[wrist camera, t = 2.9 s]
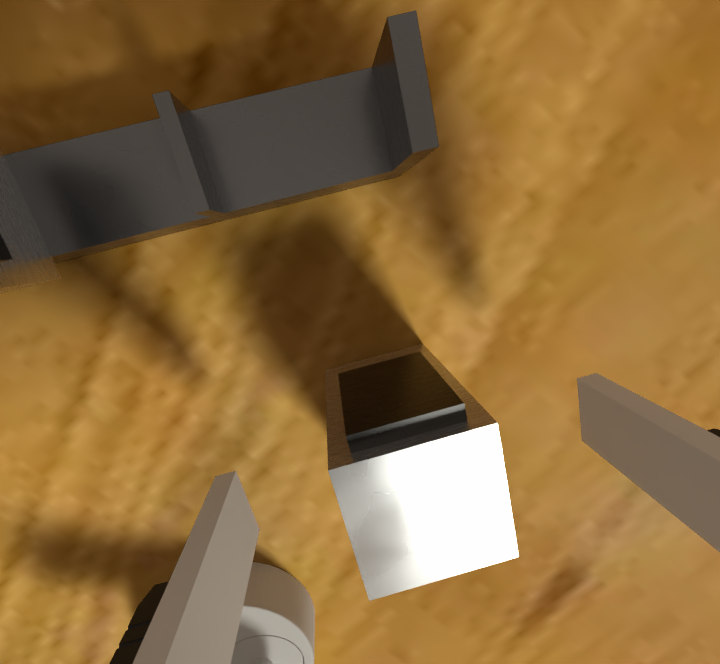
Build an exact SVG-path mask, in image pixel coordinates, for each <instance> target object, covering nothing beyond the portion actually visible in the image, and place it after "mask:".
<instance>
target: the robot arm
mask: <svg viewBox="0 0 720 664" xmlns="http://www.w3.org/2000/svg"><path fill="white" fill-rule="evenodd" d="M577 385H578V397H579V410H580V422H581V435H582V441H583V442H584V443H586V444H587V445H588V446H589V447H591V448H592V449H593V450H594V451H595V452H597V453H598V454H599V455H600V456H602V457H603V458H604V459H605V460H607V461H608V462H609V463H610V464H612V465H613V466H614V467H615V468H616V469H618V470H619V471H620V472H621V473H623V474H624V475H625V476H626V477H628V478H629V479H630V480H631V481H632V482H634V483H635V484H636V485H637V486H639V487H640V488H641V489H642V490H644V491H645V492H646V493H647V494H649V495H650V496H651V497H652V498H653V499H655V500H656V501H657V502H658V503H660V504H661V505H662V506H663V507H665V508H666V509H667V510H668V511H670V512H671V513H672V514H673V515H674V516H676V517H677V518H678V519H679V520H681V521H682V522H683V523H684V524H686V525H687V526H688V527H689V528H691V529H692V530H693V531H694V532H695V533H697V534H698V535H699V536H700V537H702V538H703V539H704V540H705V541H707V542H708V543H709V544H710V545H711V546H713V547H714V548H715V549H716V550H718V551H719V552H720V430H718V429H711V430H705V429H703V428H701V427H699V426H697V425H695V424H693V423H691V422H690V421H688V420H686V419H684V418H682V417H680V416H678V415H676V414H674V413H672V412H670V411H668V410H666V409H665V408H663V407H661V406H659V405H657V404H655V403H653V402H651V401H649V400H647V399H645V398H643V397H641V396H640V395H638V394H636V393H634V392H632V391H630V390H628V389H626V388H624V387H622V386H620V385H618V384H616V383H614V382H613V381H611V380H609V379H607V378H605V377H603V376H601V375H599V374H597V373H595V374H591V375H588V376H584V377H580V378H577ZM259 530H260V529H259V527H258V524H257V522H256V519H255V517H254V514H253V512H252V509H251V507H250V504H249V502H248V499H247V497H246V495H245V492H244V490H243V487H242V485H241V482H240V480H239V477H238V475H237V472H236V471H233V472H230V473H226V474H222V475H219V476H215V479H214V481H213V483H212V485H211V488H210V490H209V492H208V494H207V497H206V499H205V501H204V503H203V506H202V508H201V510H200V512H199V515H198V517H197V519H196V522H195V524H194V526H193V528H192V531H191V533H190V535H189V537H188V540H187V542H186V544H185V546H184V549H183V551H182V553H181V555H180V558H179V560H178V562H177V564H176V567H175V569H174V571H173V573H172V576H171V578H170V580H169V581H168V582H164V583H161V584H157V585H154V587H153V588H152V589H151V590H150V592H149V593H148V594H147V595H146V597H145V598H144V599H143V600H142V602H141V603H140V604H139V605H138V607H137V609H136V611H135V613H134V615H133V617H132V619H131V621H130V623H129V625H128V630H127V631H126V632H125V634H124V636H123V638H122V640H121V642H120V644H119V649H117V650H116V652H115V654H114V656H113V658H112V660H111V662H110V664H231V660H232V655H233V651H234V646H235V641H236V637H237V632H238V627H239V623H240V618H241V613H242V609H243V604H244V600H245V595H246V590H247V586H248V581H249V576H250V572H251V567H252V563H253V558H254V553H255V549H256V544H257V539H258V535H259Z"/></svg>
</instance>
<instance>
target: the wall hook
mask: <svg viewBox="0 0 720 664" xmlns="http://www.w3.org/2000/svg"><path fill="white" fill-rule="evenodd" d="M314 633H315V611H314V605H313V602H312V599H311V597H310V595H309V593H308V591H307V590H306V589H305V587H304V586H303V585H302V584H301V583H300V582H299V581H298V580H297V579H296V578H294V577H293V576H292V575H290V574H289V573H287V572H285V571H283V570H281V569H279V568H276V567H274V566H271V565H267V564H263V563H257V562H253V563H252V567H251V572H250V576H249V581H248V586H247V590H246V595H245V600H244V604H243V609H242V613H241V618H240V623H239V627H238V632H237V637H236V641H235V646H234V651H233V655H232V660H231V664H314Z"/></svg>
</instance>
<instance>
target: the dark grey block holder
mask: <svg viewBox="0 0 720 664" xmlns="http://www.w3.org/2000/svg"><path fill="white" fill-rule="evenodd" d="M152 96H153V99H154V102H155V105H156V108H157V110H158V113H159V116H160V118H158V119H154V120H150V121H145V122H141V123H137V124H133V125H129V126H124V127H120V128H116V129H112V130H108V131H103V132H99V133H95V134H91V135H87V136H83V137H78V138H74V139H70V140H66V141H62V142H57V143H53V144H49V145H45V146H41V147H37V148H32V149H28V150H24V151H20V152H16V153H11V154H7V155H3V153H2V151H1V149H0V294H2V293H5V292H9V291H13V290H17V289H21V288H25V287H29V286H33V285H37V284H41V283H45V282H49V281H53V280H57V279H61V275H60V273H59V271H58V269H57V267H56V265H55V263H57V262H61V261H65V260H69V259H73V258H77V257H81V256H85V255H89V254H93V253H97V252H101V251H105V250H109V249H113V248H117V247H120V246H124V245H128V244H132V243H136V242H140V241H144V240H148V239H152V238H156V237H160V236H164V235H168V234H172V233H176V232H180V231H184V230H188V229H192V228H196V227H200V226H204V225H208V224H212V223H216V222H220V221H224V220H228V219H232V218H236V217H240V216H244V215H248V214H252V213H256V212H260V211H264V210H268V209H271V208H275V207H279V206H283V205H287V204H291V203H295V202H299V201H303V200H307V199H311V198H315V197H319V196H323V195H327V194H331V193H335V192H339V191H343V190H347V189H351V188H355V187H359V186H363V185H367V184H371V183H375V182H379V181H383V180H387V179H391V178H395V177H399V176H401V175H402V174H403V173H405V172H406V171H407V170H409V169H410V168H411V167H412V166H414V165H415V164H416V163H418V162H419V161H420V160H422V159H423V158H424V157H426V156H427V155H428V154H430V153H431V152H432V151H434V150H435V149H436V148H438V147H439V144H438V138H437V132H436V126H435V120H434V114H433V108H432V102H431V96H430V90H429V84H428V78H427V72H426V66H425V60H424V54H423V48H422V42H421V36H420V31H419V25H418V19H417V13H416V11H412V12H407V13H403V14H399V15H394V16H390V17H387V20H386V23H385V26H384V30H383V33H382V36H381V39H380V43H379V46H378V49H377V52H376V56H375V59H374V62H373V65H372V67H371V68H367V69H363V70H359V71H355V72H350V73H346V74H342V75H338V76H334V77H329V78H325V79H321V80H317V81H313V82H309V83H304V84H300V85H296V86H292V87H288V88H283V89H279V90H275V91H271V92H267V93H262V94H258V95H254V96H250V97H246V98H242V99H237V100H233V101H229V102H225V103H221V104H216V105H212V106H208V107H204V108H200V109H196V110H191V111H190V110H189V109H188V108H186V107H185V106H184V105H183V104H182V103H181V102H180V101H179V100H178V99H177V98H176V97H175V96H174V95H173V94H172V93H171V92H170V91H169V90H168V91H164V92H160V93H156V94H152Z"/></svg>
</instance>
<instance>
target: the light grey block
mask: <svg viewBox="0 0 720 664" xmlns="http://www.w3.org/2000/svg"><path fill="white" fill-rule="evenodd" d="M325 386H326V418H327V449H328V471H329V475H330V478H331V481H332V484H333V487H334V490H335V494H336V497H337V500H338V503H339V506H340V509H341V512H342V516H343V519H344V522H345V525H346V528H347V531H348V535H349V538H350V541H351V544H352V547H353V550H354V554H355V557H356V560H357V563H358V566H359V569H360V573H361V576H362V579H363V582H364V585H365V588H366V592H367V595H368V598H369V601H370V600H374V599H377V598H381V597H384V596H387V595H391V594H394V593H398V592H401V591H404V590H408V589H411V588H415V587H418V586H421V585H425V584H428V583H432V582H435V581H438V580H442V579H445V578H448V577H452V576H455V575H459V574H462V573H465V572H469V571H472V570H476V569H479V568H482V567H486V566H489V565H493V564H496V563H499V562H503V561H506V560H510V559H513V558H516V557H519V555H518V549H517V542H516V536H515V530H514V523H513V517H512V511H511V504H510V498H509V492H508V485H507V479H506V473H505V466H504V460H503V453H502V447H501V441H500V434H499V428H498V423H497V422H496V421H495V420H494V419H493V417H492V416H491V415H490V414H489V413H488V412H487V411H486V410H485V409H484V408H483V407H482V406H481V405H480V404H479V403H478V402H477V401H476V399H475V398H474V397H473V396H472V395H471V394H470V393H469V392H468V391H467V390H466V389H465V388H464V387H463V386H462V385H461V384H460V383H459V382H458V380H457V379H456V378H455V377H454V376H453V375H452V374H451V373H450V372H449V371H448V370H447V369H446V368H445V367H444V366H443V365H442V364H441V363H440V361H439V360H438V359H437V358H436V357H435V356H434V355H433V354H432V353H431V352H430V351H429V350H428V349H427V348H426V347H425V346H424V345H423V343H422V344H419V345H415V346H411V347H408V348H404V349H400V350H397V351H393V352H389V353H386V354H382V355H378V356H374V357H371V358H367V359H363V360H360V361H356V362H352V363H349V364H345V365H341V366H337V367H334V368H330V369H326V370H325Z"/></svg>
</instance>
